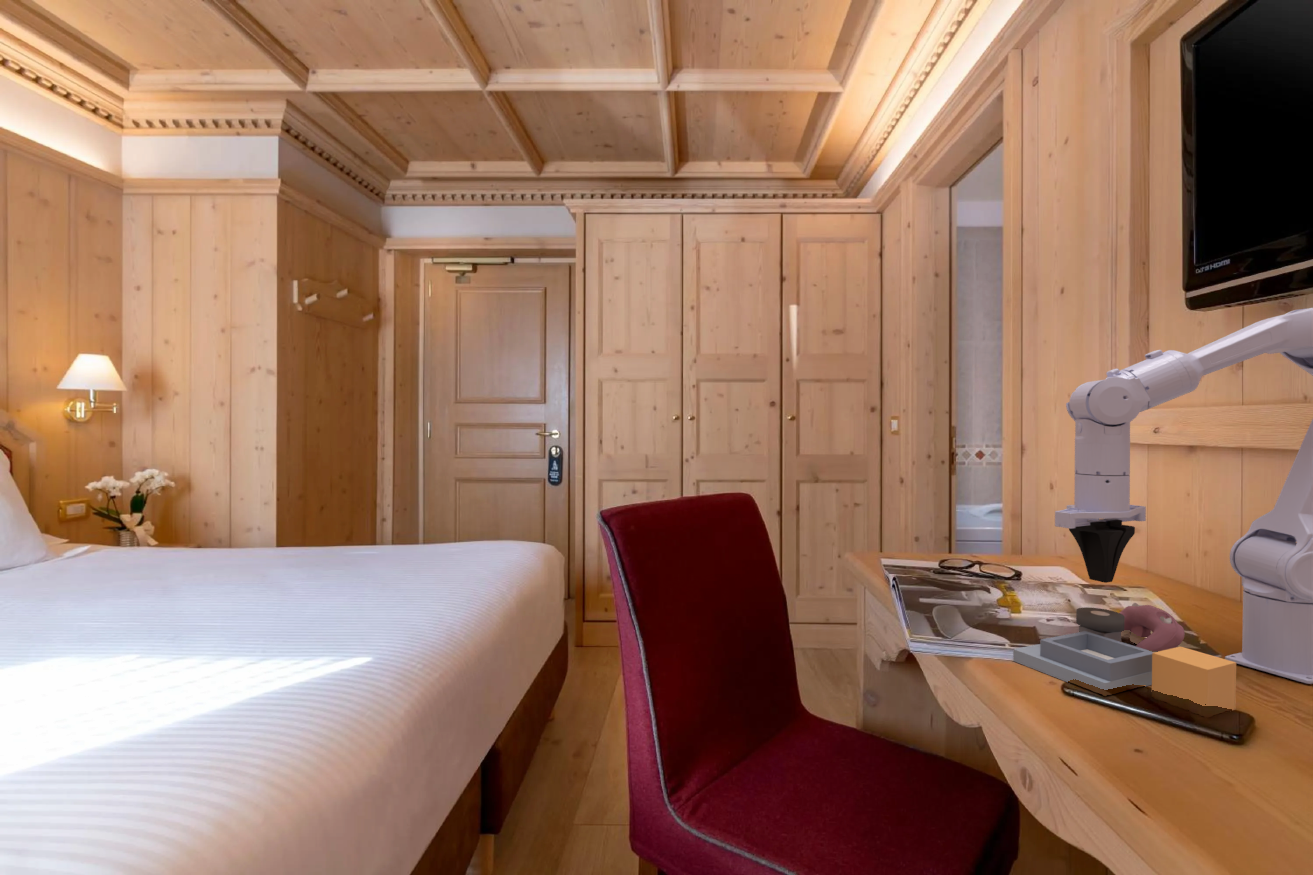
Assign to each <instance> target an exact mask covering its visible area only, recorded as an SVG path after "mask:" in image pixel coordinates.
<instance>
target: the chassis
mask: <svg viewBox="0 0 1313 875" xmlns="http://www.w3.org/2000/svg"><path fill="white" fill-rule="evenodd" d="M1039 640H1040V641H1039V644H1038V643H1037V644H1032V645H1028V646H1022V647H1017V648H1013V650H1012V652H1013V653H1012V654H1013V655H1012V656H1013V657H1012V660H1013V662H1015V663H1017V664H1021V665H1022V666H1024V667H1027V668H1030V669H1033V670H1036V671H1038V672H1041V673H1043V674H1046V675H1048V676H1051V677H1054V678H1055V679H1059V680H1060V681H1063V682H1066V683H1068V681H1070V680H1073V679H1074V680H1075V679H1076V680H1079V681H1081V682H1084V683H1086V684H1089V685H1093V686H1095V687H1098V688H1100V689H1104V690H1108V689H1113V688H1117V687H1122V686H1126V685H1132V684H1134V685H1146V686H1145V687H1149V686H1152V653H1154V652H1152V651H1149V650H1146V649H1142V648H1139V647H1136V645H1134V644H1133V645H1132V644H1130V643H1126V642H1122V636H1121V632H1102V631H1097V630H1092V629H1088V628H1085V627H1082V626H1080V625H1078V632H1073V633H1067V634H1062V635H1058V636H1051V637H1047V638H1043V639H1039Z"/></svg>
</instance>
